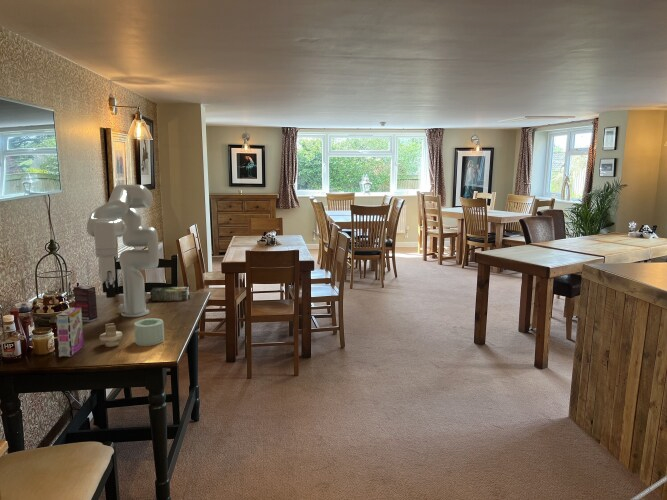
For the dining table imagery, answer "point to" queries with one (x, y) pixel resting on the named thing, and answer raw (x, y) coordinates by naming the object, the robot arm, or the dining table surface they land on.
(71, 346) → the candy bar box
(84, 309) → the supplement box
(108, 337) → the stopper
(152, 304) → the dining table surface
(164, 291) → the juice carton
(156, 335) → the canister
